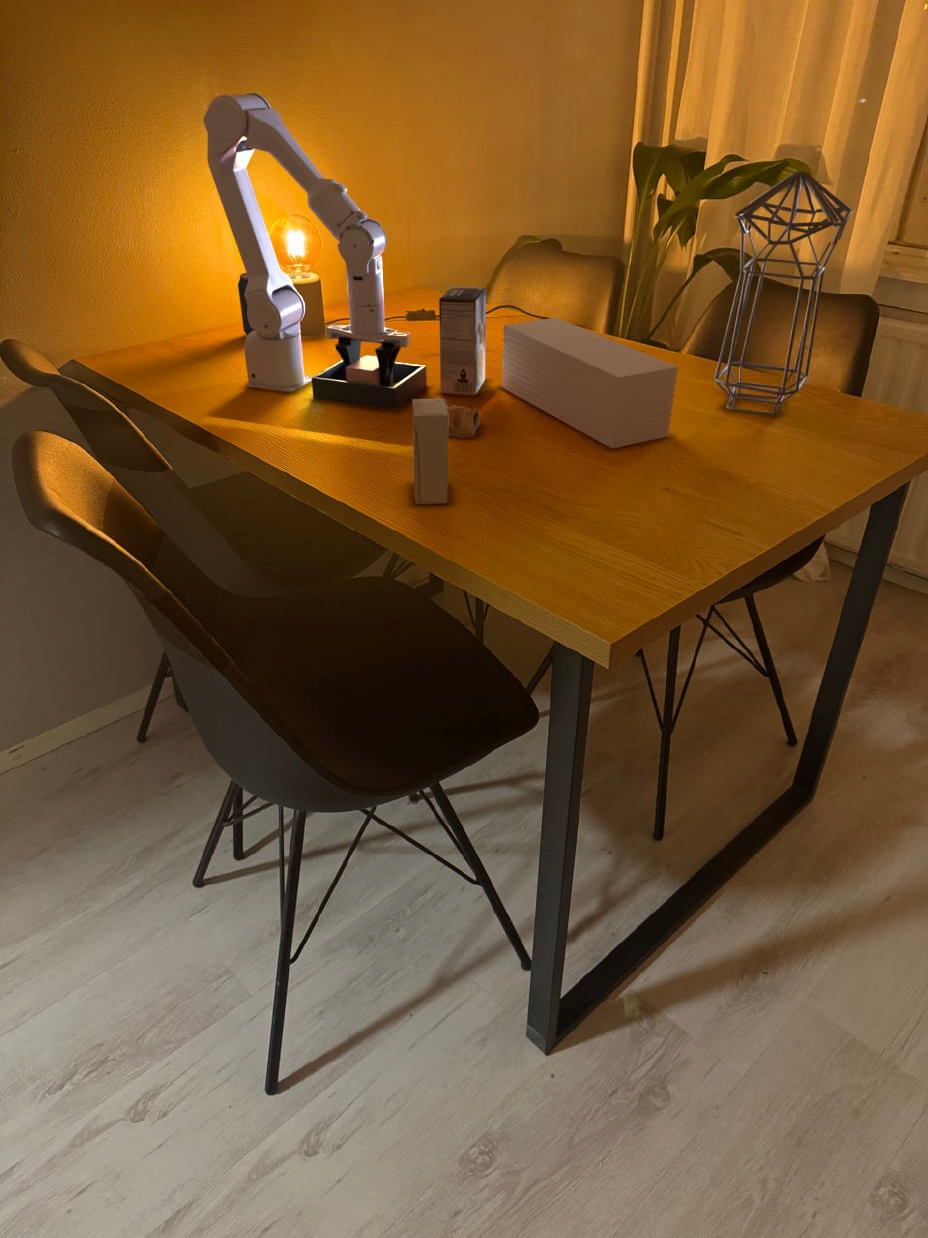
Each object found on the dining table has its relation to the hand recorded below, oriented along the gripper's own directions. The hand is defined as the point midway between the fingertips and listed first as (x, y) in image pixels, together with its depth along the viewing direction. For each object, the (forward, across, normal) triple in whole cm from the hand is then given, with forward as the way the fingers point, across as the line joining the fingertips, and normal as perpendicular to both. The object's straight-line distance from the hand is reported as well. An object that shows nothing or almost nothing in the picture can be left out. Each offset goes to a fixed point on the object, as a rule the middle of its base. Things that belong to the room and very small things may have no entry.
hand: (370, 384), depth 149 cm
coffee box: (+2, -14, -9) cm, 16 cm away
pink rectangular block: (+1, 0, 0) cm, 1 cm away
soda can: (+2, +38, -25) cm, 45 cm away
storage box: (+2, 0, 0) cm, 2 cm away
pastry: (+2, -20, +11) cm, 22 cm away
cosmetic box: (+2, -26, +34) cm, 43 cm away
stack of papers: (+2, -36, -5) cm, 36 cm away
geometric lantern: (+2, -62, -18) cm, 65 cm away
